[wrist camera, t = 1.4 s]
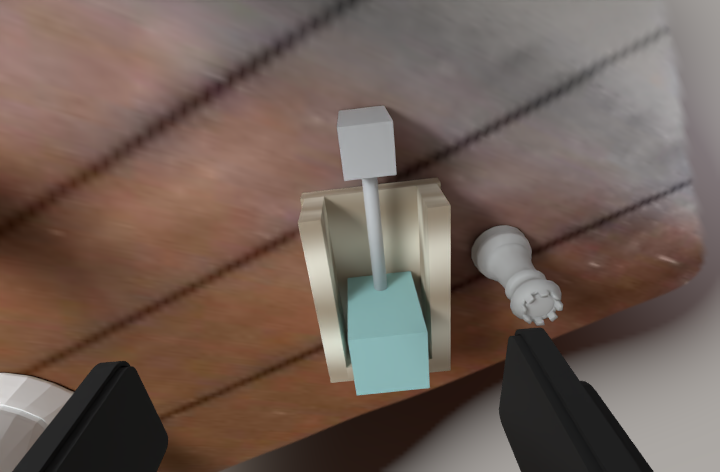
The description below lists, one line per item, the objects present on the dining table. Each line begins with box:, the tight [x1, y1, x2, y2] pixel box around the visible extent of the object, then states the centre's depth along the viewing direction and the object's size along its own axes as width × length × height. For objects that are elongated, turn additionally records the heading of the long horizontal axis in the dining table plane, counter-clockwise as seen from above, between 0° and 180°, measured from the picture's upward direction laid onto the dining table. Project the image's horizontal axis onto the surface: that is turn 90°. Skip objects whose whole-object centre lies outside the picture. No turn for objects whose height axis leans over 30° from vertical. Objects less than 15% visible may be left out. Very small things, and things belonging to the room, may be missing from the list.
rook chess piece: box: [471, 225, 563, 326], centre depth 27 cm, size 4×4×8 cm
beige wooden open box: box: [298, 178, 451, 383], centre depth 29 cm, size 14×10×5 cm
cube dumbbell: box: [337, 105, 430, 395], centre depth 25 cm, size 18×5×8 cm, turn 6°
